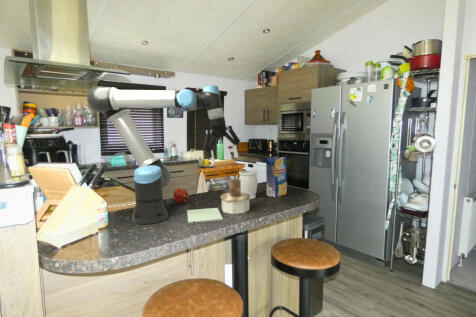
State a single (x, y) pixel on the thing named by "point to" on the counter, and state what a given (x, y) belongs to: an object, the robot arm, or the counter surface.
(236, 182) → the lid
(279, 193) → the blue food box
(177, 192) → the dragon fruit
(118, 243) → the counter surface
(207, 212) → the mat
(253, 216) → the counter surface
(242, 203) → the bowl
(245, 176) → the jar
